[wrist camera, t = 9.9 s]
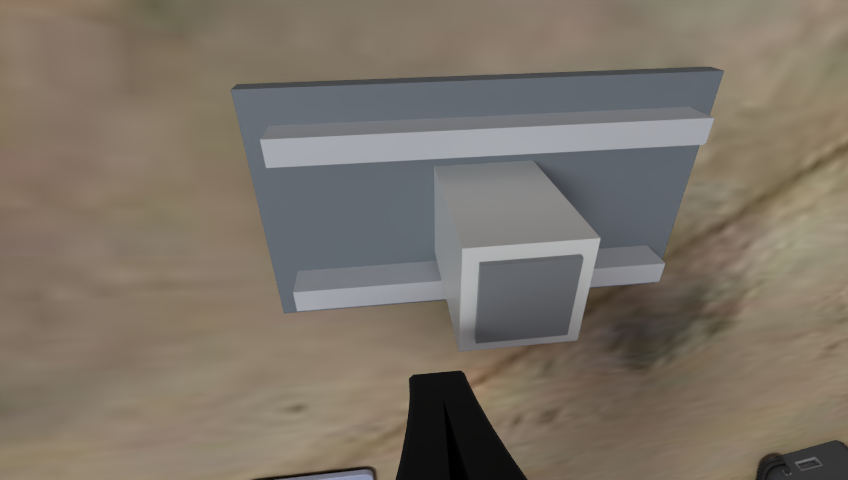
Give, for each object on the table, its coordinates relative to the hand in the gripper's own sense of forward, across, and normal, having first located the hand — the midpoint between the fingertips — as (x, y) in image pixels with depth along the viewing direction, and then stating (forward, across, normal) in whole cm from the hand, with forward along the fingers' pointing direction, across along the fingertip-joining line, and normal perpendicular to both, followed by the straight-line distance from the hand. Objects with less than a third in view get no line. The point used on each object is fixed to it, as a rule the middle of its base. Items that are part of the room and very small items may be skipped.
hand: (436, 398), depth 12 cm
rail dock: (+9, -3, -1) cm, 10 cm away
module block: (+8, -3, -1) cm, 9 cm away
